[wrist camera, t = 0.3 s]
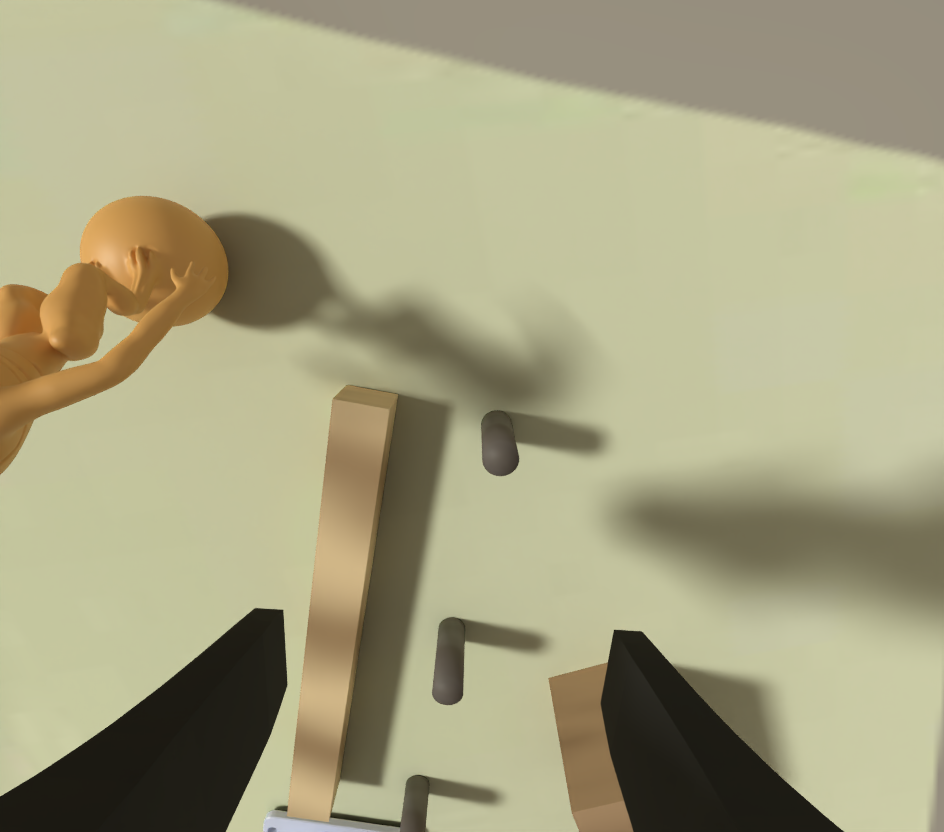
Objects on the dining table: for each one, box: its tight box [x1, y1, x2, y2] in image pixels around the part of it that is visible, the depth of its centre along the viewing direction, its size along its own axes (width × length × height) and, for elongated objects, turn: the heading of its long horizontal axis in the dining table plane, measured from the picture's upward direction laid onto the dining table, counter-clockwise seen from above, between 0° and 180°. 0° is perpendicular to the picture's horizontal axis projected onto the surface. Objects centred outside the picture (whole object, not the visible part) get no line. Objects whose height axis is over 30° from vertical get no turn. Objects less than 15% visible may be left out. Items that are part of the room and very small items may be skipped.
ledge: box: [287, 385, 519, 832], centre depth 21 cm, size 21×7×4 cm, turn 169°
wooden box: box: [549, 663, 633, 832], centre depth 21 cm, size 7×4×6 cm, turn 19°
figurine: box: [0, 196, 228, 474], centre depth 12 cm, size 8×6×12 cm
